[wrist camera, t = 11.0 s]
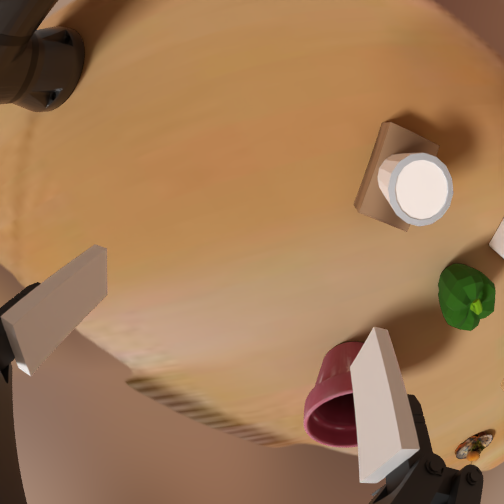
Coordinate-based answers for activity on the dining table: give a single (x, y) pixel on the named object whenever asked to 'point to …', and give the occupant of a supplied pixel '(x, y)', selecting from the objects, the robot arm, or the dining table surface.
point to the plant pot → (333, 399)
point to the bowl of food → (473, 446)
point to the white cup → (416, 187)
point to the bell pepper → (465, 296)
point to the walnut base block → (387, 144)
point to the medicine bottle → (498, 240)
